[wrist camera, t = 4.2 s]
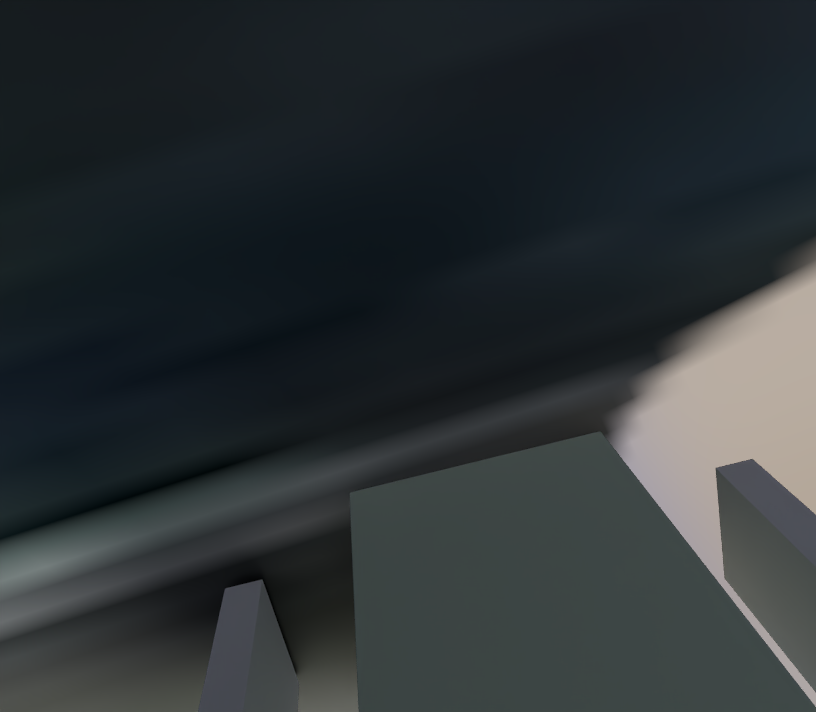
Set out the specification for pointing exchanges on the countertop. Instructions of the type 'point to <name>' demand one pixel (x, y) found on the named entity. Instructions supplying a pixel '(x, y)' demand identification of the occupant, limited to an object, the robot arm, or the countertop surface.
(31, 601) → the countertop surface
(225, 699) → the robot arm
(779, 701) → the green block
